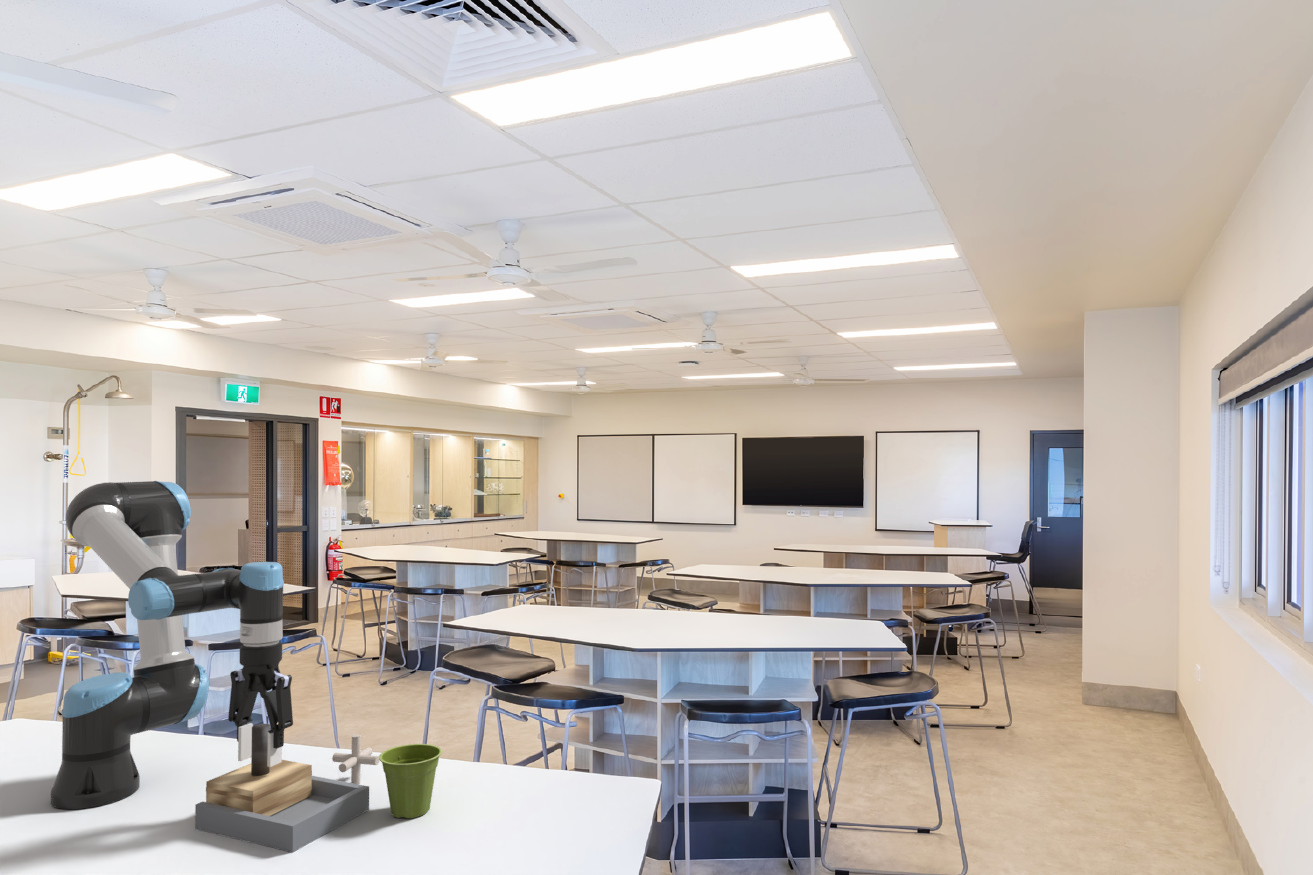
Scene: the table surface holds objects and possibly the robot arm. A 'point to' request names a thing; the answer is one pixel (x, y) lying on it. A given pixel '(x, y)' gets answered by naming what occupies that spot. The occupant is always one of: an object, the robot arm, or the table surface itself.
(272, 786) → the wooden block with peg
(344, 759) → the pipe connector
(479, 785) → the table surface
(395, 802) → the plant pot
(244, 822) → the bay
